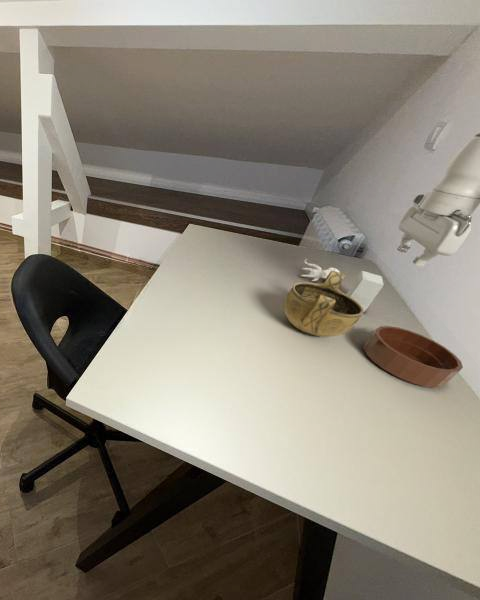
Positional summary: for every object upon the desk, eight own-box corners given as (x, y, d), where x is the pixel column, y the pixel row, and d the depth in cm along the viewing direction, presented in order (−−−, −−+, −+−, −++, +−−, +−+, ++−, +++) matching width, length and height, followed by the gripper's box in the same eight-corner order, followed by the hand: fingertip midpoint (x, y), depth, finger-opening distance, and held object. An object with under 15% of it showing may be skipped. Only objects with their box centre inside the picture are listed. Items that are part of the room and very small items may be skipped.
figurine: (305, 256, 116) (346, 260, 110) (302, 261, 124) (340, 264, 118) (301, 278, 116) (341, 283, 110) (298, 281, 124) (336, 285, 118)
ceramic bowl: (284, 301, 102) (307, 260, 94) (345, 325, 94) (376, 283, 85) (266, 330, 88) (291, 285, 80) (336, 362, 79) (372, 315, 71)
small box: (364, 312, 101) (384, 285, 95) (343, 305, 104) (362, 278, 98) (363, 302, 107) (382, 276, 101) (344, 296, 109) (361, 270, 103)
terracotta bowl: (424, 355, 85) (440, 338, 82) (458, 399, 72) (479, 381, 69) (354, 335, 90) (366, 319, 86) (374, 373, 77) (389, 356, 73)
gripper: (494, 220, 65) (445, 277, 73) (441, 198, 81) (406, 247, 89) (456, 214, 67) (412, 270, 74) (412, 193, 83) (380, 242, 91)
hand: (408, 257), depth 82 cm, fingers open, 8 cm apart
